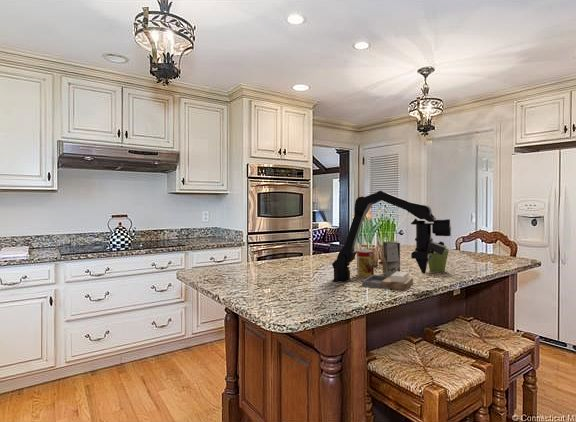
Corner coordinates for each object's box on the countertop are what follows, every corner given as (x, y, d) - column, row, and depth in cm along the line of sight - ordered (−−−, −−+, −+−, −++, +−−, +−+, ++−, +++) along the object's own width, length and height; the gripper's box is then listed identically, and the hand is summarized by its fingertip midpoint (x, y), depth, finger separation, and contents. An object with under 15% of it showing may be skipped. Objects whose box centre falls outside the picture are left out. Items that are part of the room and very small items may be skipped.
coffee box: (400, 276, 172) (400, 242, 172) (387, 277, 172) (386, 243, 172) (395, 273, 181) (395, 240, 181) (382, 273, 181) (382, 241, 181)
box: (362, 285, 155) (362, 281, 155) (372, 279, 168) (372, 274, 168) (381, 287, 151) (381, 282, 151) (390, 280, 164) (390, 276, 164)
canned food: (375, 276, 173) (375, 251, 173) (358, 277, 173) (358, 252, 173) (371, 273, 181) (371, 249, 181) (356, 273, 181) (355, 249, 181)
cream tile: (390, 281, 151) (390, 275, 151) (396, 277, 160) (396, 271, 160) (403, 282, 149) (403, 276, 149) (408, 278, 157) (408, 272, 157)
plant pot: (425, 272, 181) (425, 250, 181) (424, 268, 192) (423, 247, 192) (451, 273, 177) (451, 250, 177) (448, 269, 189) (448, 247, 188)
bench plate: (381, 287, 152) (381, 281, 152) (389, 281, 163) (389, 275, 163) (406, 289, 147) (406, 283, 147) (412, 283, 158) (412, 277, 158)
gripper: (441, 238, 137) (441, 279, 137) (447, 234, 153) (447, 271, 153) (410, 237, 143) (411, 276, 143) (420, 233, 159) (420, 269, 159)
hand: (423, 273), depth 149 cm, fingers closed
